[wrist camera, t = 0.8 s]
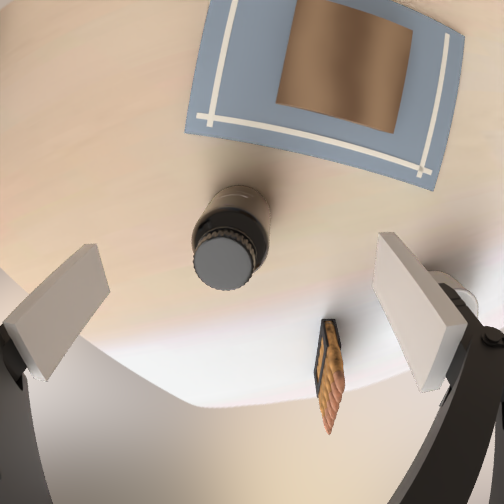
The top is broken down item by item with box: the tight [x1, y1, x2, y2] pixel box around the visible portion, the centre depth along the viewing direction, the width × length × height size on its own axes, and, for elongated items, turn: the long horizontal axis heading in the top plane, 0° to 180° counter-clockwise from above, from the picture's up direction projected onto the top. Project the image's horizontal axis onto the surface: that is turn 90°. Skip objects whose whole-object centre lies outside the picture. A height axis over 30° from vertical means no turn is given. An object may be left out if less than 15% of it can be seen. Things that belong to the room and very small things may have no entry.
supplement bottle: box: [192, 185, 270, 291], centre depth 29 cm, size 7×7×12 cm
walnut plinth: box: [275, 0, 413, 134], centre depth 24 cm, size 11×11×4 cm
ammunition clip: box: [314, 319, 345, 435], centre depth 37 cm, size 11×2×12 cm, turn 1°
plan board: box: [184, 0, 465, 191], centre depth 26 cm, size 28×20×1 cm
